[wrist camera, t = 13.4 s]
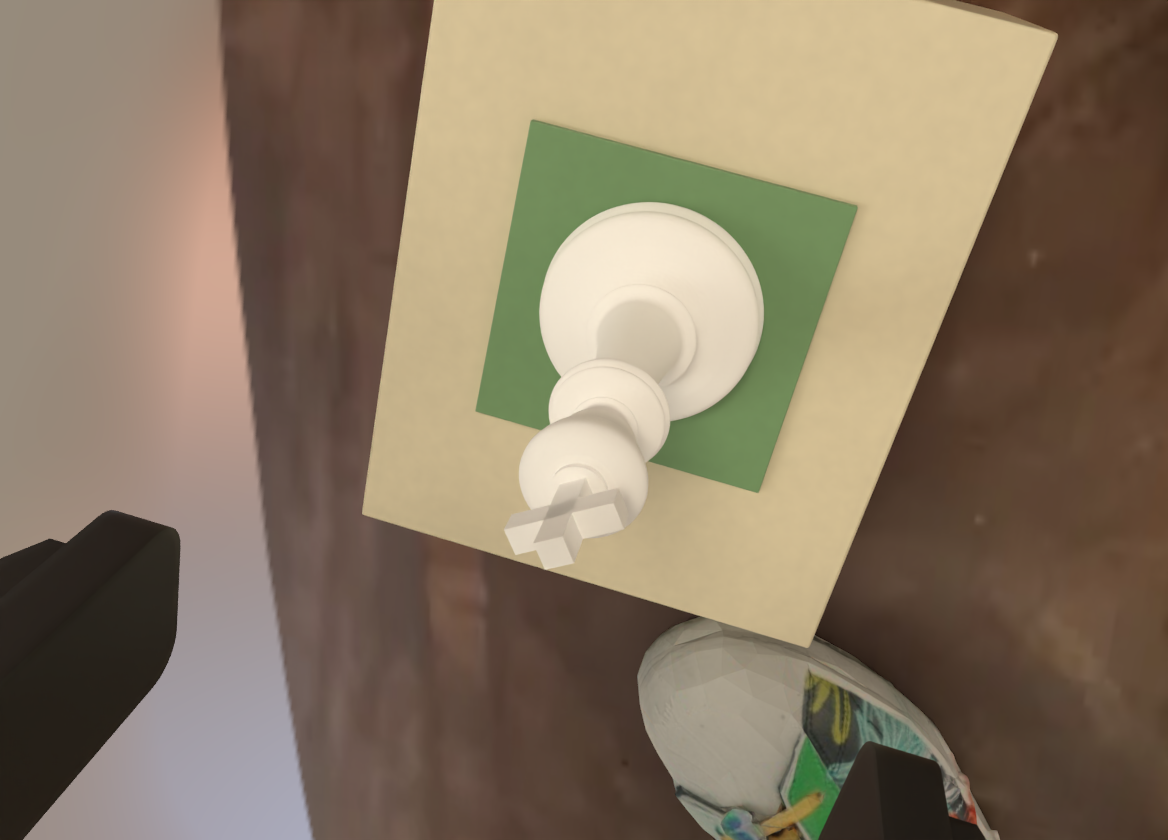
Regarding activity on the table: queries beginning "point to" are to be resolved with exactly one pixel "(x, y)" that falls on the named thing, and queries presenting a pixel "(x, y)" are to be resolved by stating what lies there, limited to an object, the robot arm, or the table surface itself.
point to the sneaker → (775, 729)
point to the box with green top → (737, 204)
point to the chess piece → (629, 364)
